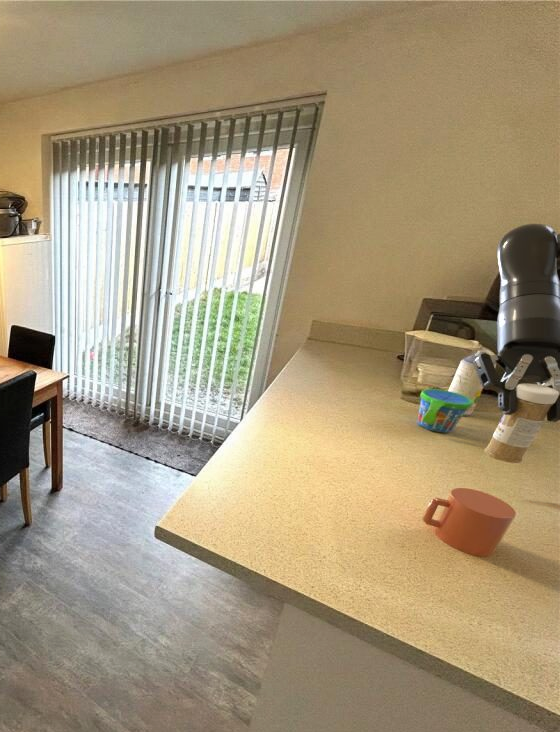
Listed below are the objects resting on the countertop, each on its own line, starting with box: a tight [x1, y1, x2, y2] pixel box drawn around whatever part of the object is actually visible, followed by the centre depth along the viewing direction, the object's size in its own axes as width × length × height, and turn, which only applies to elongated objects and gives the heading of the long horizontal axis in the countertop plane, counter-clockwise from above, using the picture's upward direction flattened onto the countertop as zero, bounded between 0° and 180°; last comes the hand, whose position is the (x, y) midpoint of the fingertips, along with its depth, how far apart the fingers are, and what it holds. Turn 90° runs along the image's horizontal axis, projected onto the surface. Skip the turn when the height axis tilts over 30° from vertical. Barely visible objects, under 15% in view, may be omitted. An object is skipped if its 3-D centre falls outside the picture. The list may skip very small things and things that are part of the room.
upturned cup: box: [422, 487, 517, 557], centre depth 75 cm, size 11×8×9 cm
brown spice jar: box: [484, 382, 559, 464], centre depth 66 cm, size 5×5×14 cm
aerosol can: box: [447, 349, 487, 417], centre depth 119 cm, size 7×7×20 cm
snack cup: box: [417, 388, 473, 434], centre depth 113 cm, size 16×10×10 cm
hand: (532, 416), depth 64 cm, fingers closed on brown spice jar, 4 cm apart
